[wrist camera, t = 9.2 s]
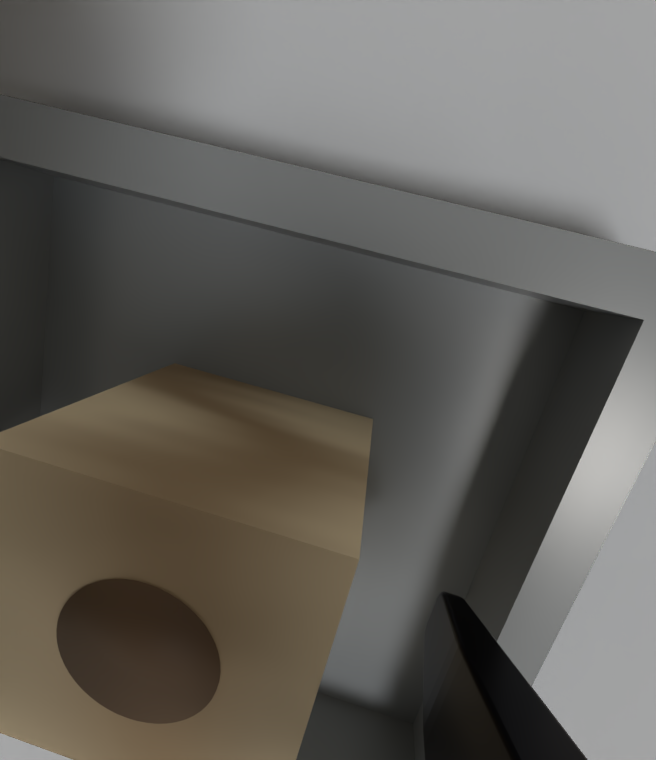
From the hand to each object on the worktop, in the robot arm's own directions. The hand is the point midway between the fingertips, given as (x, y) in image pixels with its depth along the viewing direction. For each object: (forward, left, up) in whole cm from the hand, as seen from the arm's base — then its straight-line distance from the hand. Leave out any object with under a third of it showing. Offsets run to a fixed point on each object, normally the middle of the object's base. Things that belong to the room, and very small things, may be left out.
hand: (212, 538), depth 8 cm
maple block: (0, 0, -2) cm, 3 cm away
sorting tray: (0, 0, -3) cm, 3 cm away
